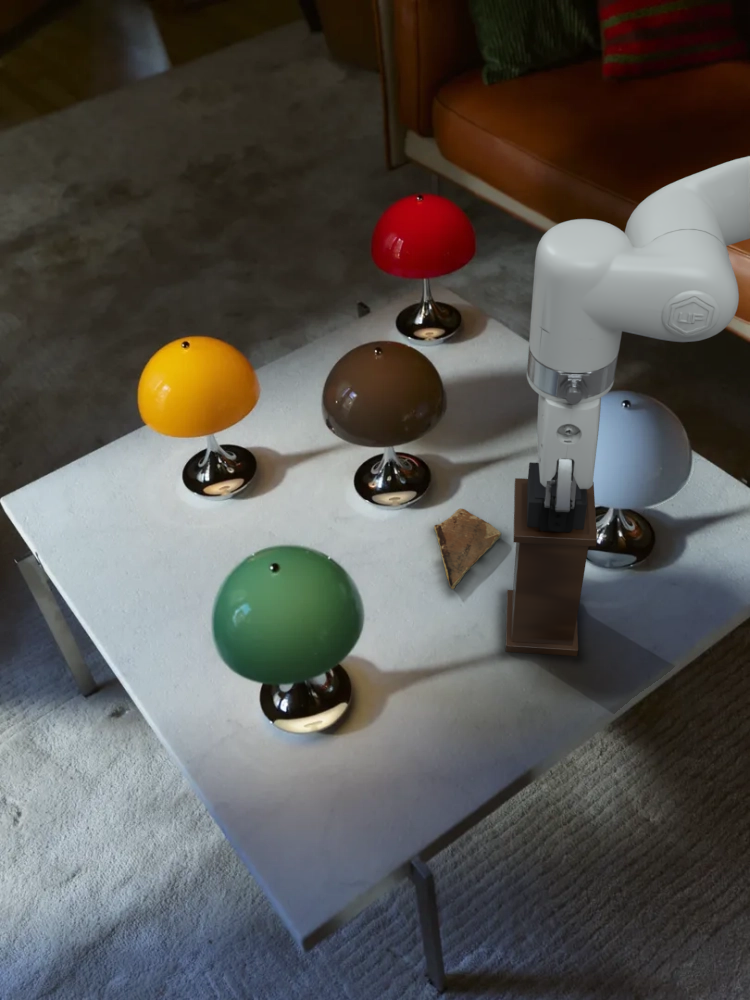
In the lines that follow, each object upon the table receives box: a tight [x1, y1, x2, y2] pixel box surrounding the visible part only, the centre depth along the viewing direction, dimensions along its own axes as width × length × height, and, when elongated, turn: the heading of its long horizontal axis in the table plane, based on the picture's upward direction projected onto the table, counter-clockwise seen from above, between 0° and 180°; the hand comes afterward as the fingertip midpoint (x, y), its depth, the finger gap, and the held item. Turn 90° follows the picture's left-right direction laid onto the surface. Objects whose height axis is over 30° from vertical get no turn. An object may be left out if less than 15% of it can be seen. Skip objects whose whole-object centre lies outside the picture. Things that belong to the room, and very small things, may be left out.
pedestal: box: [505, 477, 598, 657], centre depth 102 cm, size 8×8×20 cm
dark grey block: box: [527, 462, 587, 529], centre depth 93 cm, size 6×6×4 cm
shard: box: [433, 508, 502, 590], centre depth 117 cm, size 11×8×2 cm
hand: (555, 504), depth 94 cm, fingers closed on dark grey block, 5 cm apart
